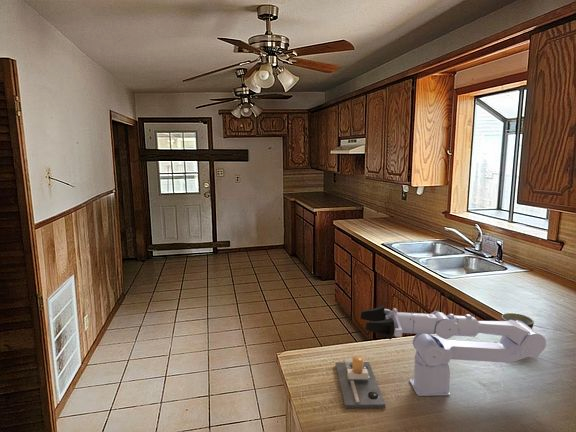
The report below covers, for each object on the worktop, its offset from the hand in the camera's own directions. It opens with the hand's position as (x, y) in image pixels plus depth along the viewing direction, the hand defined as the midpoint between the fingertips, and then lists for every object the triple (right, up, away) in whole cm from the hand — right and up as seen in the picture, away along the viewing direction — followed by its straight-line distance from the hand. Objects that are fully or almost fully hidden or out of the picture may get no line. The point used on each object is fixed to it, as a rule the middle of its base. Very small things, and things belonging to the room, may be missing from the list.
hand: (363, 320), depth 112 cm
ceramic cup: (+59, -17, +28) cm, 68 cm away
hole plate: (-1, -21, +5) cm, 22 cm away
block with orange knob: (0, -19, +6) cm, 20 cm away
